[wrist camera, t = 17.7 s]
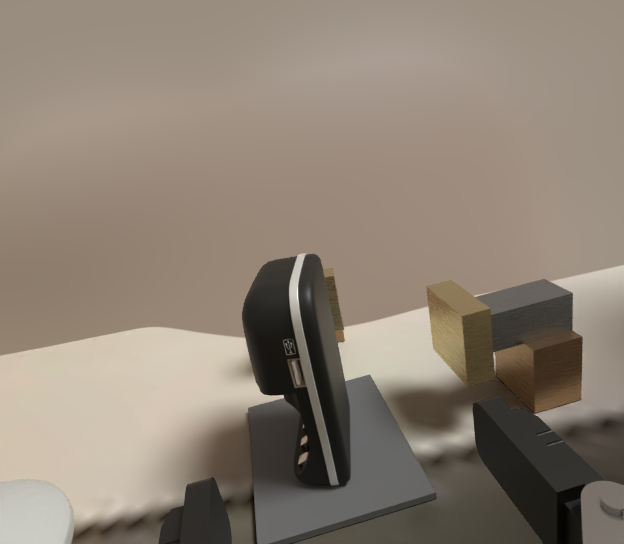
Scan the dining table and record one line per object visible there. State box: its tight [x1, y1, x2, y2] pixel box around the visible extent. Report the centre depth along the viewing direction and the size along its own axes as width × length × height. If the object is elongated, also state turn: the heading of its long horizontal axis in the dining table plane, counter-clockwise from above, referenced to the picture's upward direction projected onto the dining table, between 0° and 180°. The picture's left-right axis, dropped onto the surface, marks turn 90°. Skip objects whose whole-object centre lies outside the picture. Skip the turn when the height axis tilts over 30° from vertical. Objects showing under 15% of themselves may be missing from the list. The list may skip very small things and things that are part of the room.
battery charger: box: [242, 254, 351, 485], centre depth 25 cm, size 7×4×11 cm, turn 176°
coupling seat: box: [248, 375, 436, 544], centre depth 27 cm, size 9×11×1 cm
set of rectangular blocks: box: [320, 260, 582, 413], centre depth 31 cm, size 8×23×8 cm, turn 50°
